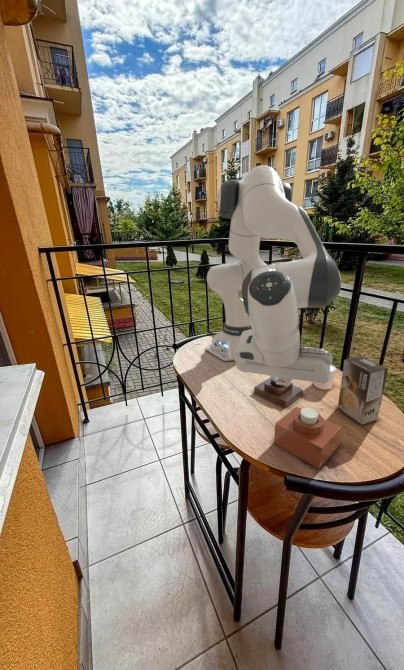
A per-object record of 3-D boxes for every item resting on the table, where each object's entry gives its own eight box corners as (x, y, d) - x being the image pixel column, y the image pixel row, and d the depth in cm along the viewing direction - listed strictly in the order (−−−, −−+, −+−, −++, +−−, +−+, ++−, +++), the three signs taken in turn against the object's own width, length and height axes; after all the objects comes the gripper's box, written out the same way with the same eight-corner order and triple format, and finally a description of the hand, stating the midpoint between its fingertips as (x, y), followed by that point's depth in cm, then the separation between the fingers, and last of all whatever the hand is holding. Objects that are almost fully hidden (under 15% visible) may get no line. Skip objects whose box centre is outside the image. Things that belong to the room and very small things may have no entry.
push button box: (273, 442, 72) (275, 416, 69) (294, 424, 78) (296, 400, 75) (319, 469, 63) (323, 441, 61) (338, 446, 70) (342, 420, 67)
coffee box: (379, 419, 78) (390, 368, 73) (361, 425, 76) (371, 373, 71) (352, 402, 86) (361, 355, 81) (336, 406, 85) (343, 359, 79)
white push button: (296, 419, 68) (297, 412, 67) (305, 412, 71) (305, 405, 70) (312, 427, 65) (313, 420, 65) (320, 419, 68) (321, 412, 67)
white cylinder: (335, 391, 92) (338, 372, 90) (313, 389, 94) (316, 371, 91) (331, 380, 99) (333, 363, 96) (310, 379, 100) (312, 362, 98)
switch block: (254, 392, 94) (254, 382, 92) (271, 381, 100) (271, 371, 98) (285, 407, 85) (286, 396, 84) (302, 394, 91) (303, 383, 90)
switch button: (270, 384, 91) (270, 379, 91) (276, 380, 94) (277, 375, 93) (280, 388, 89) (280, 383, 88) (286, 384, 91) (286, 379, 91)
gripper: (334, 338, 55) (331, 378, 64) (236, 330, 64) (246, 366, 73) (331, 364, 51) (329, 402, 61) (227, 352, 60) (239, 386, 70)
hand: (283, 382), depth 67 cm, fingers closed
